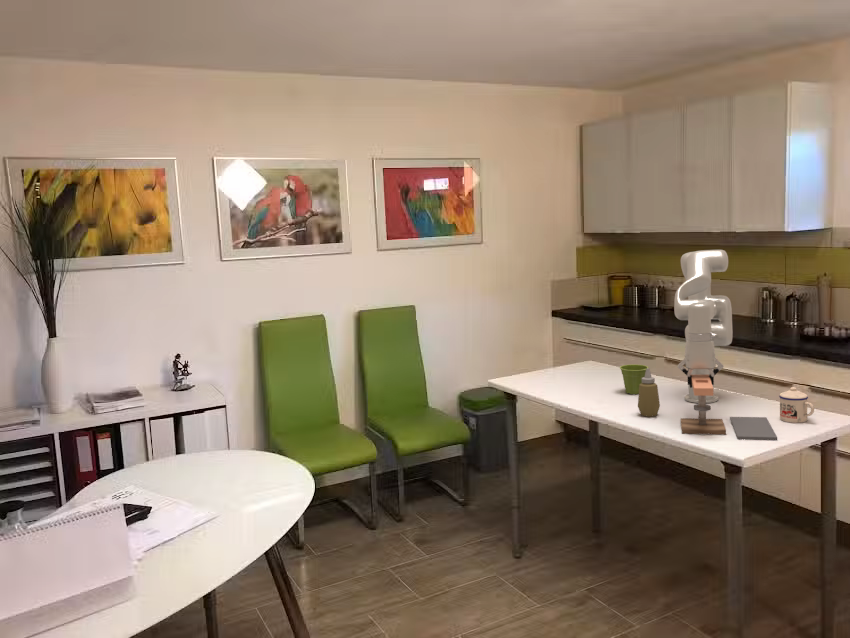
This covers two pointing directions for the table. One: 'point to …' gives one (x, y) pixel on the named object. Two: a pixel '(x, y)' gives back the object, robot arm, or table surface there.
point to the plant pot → (633, 377)
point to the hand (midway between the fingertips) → (700, 386)
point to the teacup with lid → (794, 406)
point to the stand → (702, 421)
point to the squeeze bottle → (648, 396)
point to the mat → (753, 428)
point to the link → (702, 385)
